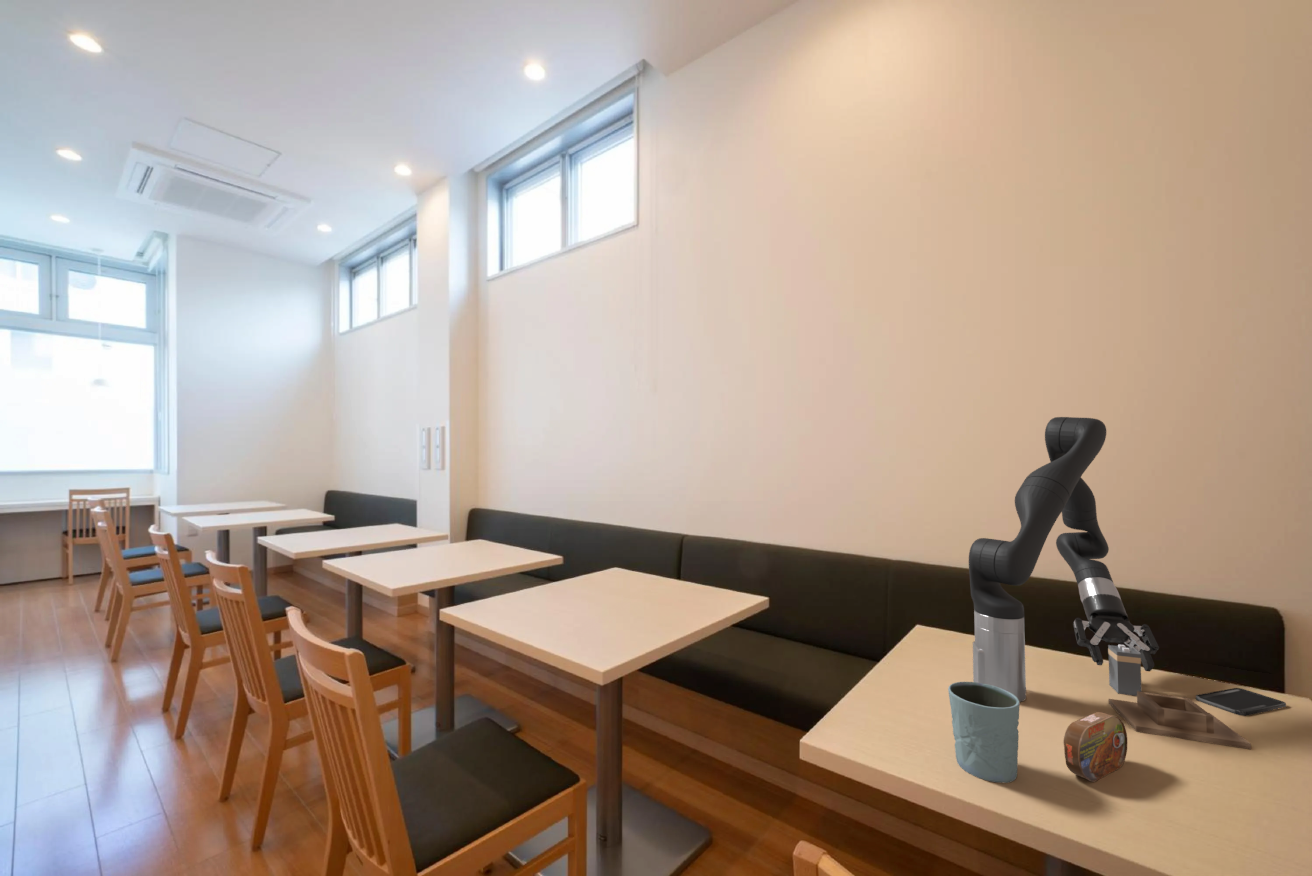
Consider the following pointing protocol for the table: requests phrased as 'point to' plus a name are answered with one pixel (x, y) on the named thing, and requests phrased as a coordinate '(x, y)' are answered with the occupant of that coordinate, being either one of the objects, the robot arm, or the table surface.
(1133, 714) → the dock
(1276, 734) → the table surface
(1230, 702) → the phone
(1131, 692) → the cell
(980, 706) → the teal embossed cup
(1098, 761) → the tin
